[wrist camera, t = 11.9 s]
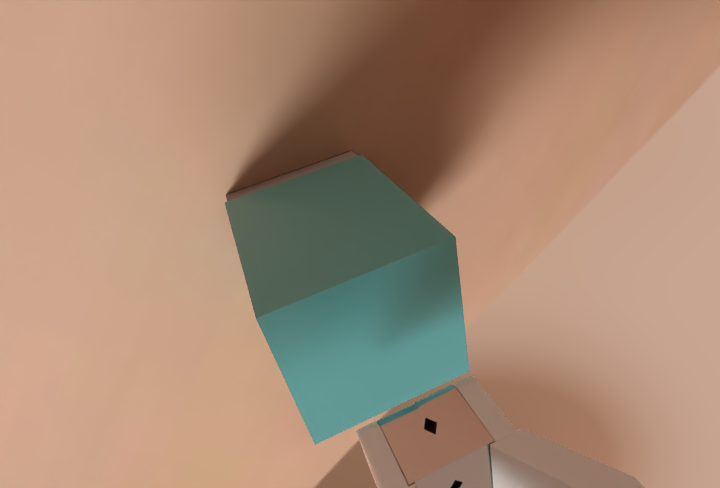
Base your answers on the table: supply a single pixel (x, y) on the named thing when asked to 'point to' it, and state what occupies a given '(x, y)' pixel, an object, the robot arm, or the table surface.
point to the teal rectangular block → (351, 292)
